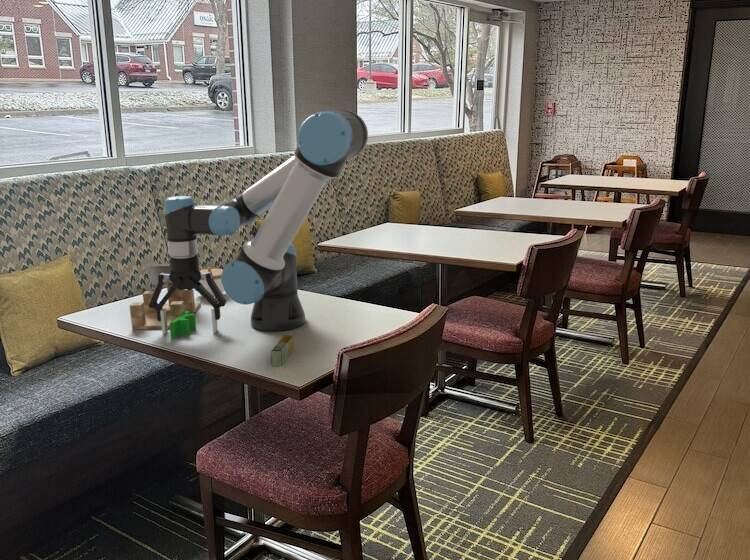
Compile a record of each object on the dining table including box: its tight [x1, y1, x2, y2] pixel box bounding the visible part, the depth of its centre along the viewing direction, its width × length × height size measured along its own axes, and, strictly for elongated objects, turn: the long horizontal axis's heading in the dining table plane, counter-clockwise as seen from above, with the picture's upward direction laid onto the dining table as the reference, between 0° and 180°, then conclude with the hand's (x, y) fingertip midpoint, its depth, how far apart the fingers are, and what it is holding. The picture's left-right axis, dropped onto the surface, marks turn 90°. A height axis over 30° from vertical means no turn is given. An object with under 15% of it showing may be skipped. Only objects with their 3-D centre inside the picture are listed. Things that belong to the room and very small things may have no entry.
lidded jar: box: [197, 266, 225, 298], centre depth 220 cm, size 11×11×9 cm
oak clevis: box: [129, 285, 201, 330], centre depth 198 cm, size 14×22×7 cm, turn 2°
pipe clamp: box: [169, 311, 197, 340], centre depth 185 cm, size 11×4×5 cm, turn 173°
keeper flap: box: [144, 263, 173, 287], centre depth 203 cm, size 13×9×1 cm
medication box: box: [270, 334, 295, 367], centre depth 165 cm, size 12×3×4 cm, turn 173°
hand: (190, 331), depth 185 cm, fingers open, 13 cm apart
